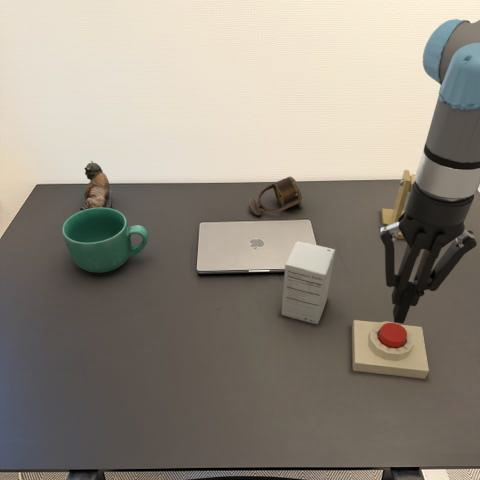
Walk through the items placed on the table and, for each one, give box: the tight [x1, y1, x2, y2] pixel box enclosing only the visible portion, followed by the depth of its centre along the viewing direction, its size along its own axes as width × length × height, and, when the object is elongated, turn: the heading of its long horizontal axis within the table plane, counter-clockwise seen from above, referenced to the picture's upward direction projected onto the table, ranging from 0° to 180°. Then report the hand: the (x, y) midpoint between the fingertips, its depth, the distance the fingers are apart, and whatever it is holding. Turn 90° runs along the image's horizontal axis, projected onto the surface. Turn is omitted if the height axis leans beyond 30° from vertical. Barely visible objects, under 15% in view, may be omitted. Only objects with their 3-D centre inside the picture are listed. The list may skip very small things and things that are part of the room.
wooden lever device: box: [380, 169, 411, 240], centre depth 104 cm, size 10×9×13 cm
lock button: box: [378, 323, 407, 348], centre depth 79 cm, size 4×4×2 cm
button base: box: [351, 319, 430, 380], centre depth 81 cm, size 12×10×4 cm
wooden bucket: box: [248, 175, 303, 216], centre depth 111 cm, size 7×13×10 cm
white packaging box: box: [281, 240, 336, 325], centre depth 86 cm, size 7×7×13 cm
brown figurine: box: [78, 160, 113, 212], centre depth 110 cm, size 12×7×10 cm, turn 5°
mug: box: [61, 207, 149, 274], centre depth 97 cm, size 17×13×10 cm
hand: (398, 316), depth 76 cm, fingers closed
